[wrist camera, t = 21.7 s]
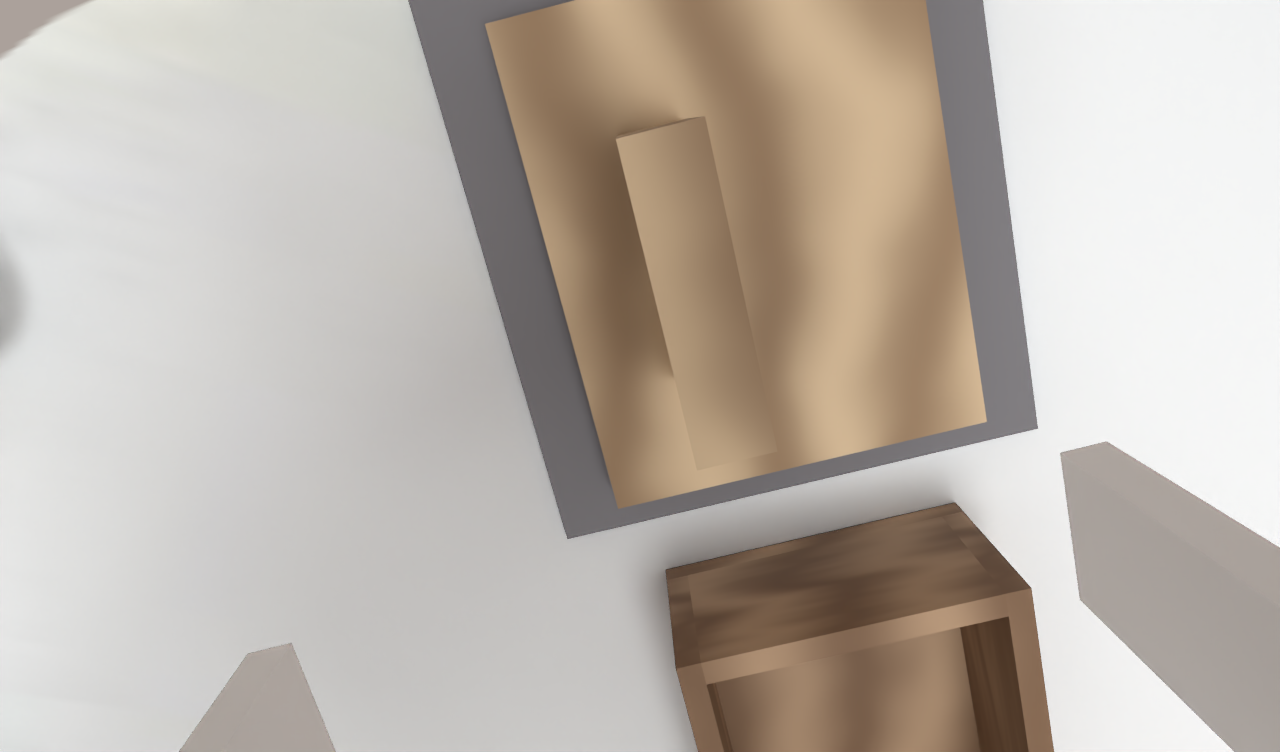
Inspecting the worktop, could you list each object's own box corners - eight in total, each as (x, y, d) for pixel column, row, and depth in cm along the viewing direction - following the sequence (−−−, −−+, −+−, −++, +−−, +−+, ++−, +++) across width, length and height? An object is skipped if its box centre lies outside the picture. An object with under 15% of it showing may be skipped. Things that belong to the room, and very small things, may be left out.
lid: (618, 486, 40) (617, 638, 28) (494, 30, 35) (428, -19, 23) (964, 403, 40) (1114, 524, 28) (892, -74, 34) (1039, -182, 22)
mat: (568, 533, 42) (567, 539, 41) (410, -2, 35) (407, -4, 35) (1031, 424, 41) (1037, 428, 40) (957, -147, 34) (963, -152, 34)
